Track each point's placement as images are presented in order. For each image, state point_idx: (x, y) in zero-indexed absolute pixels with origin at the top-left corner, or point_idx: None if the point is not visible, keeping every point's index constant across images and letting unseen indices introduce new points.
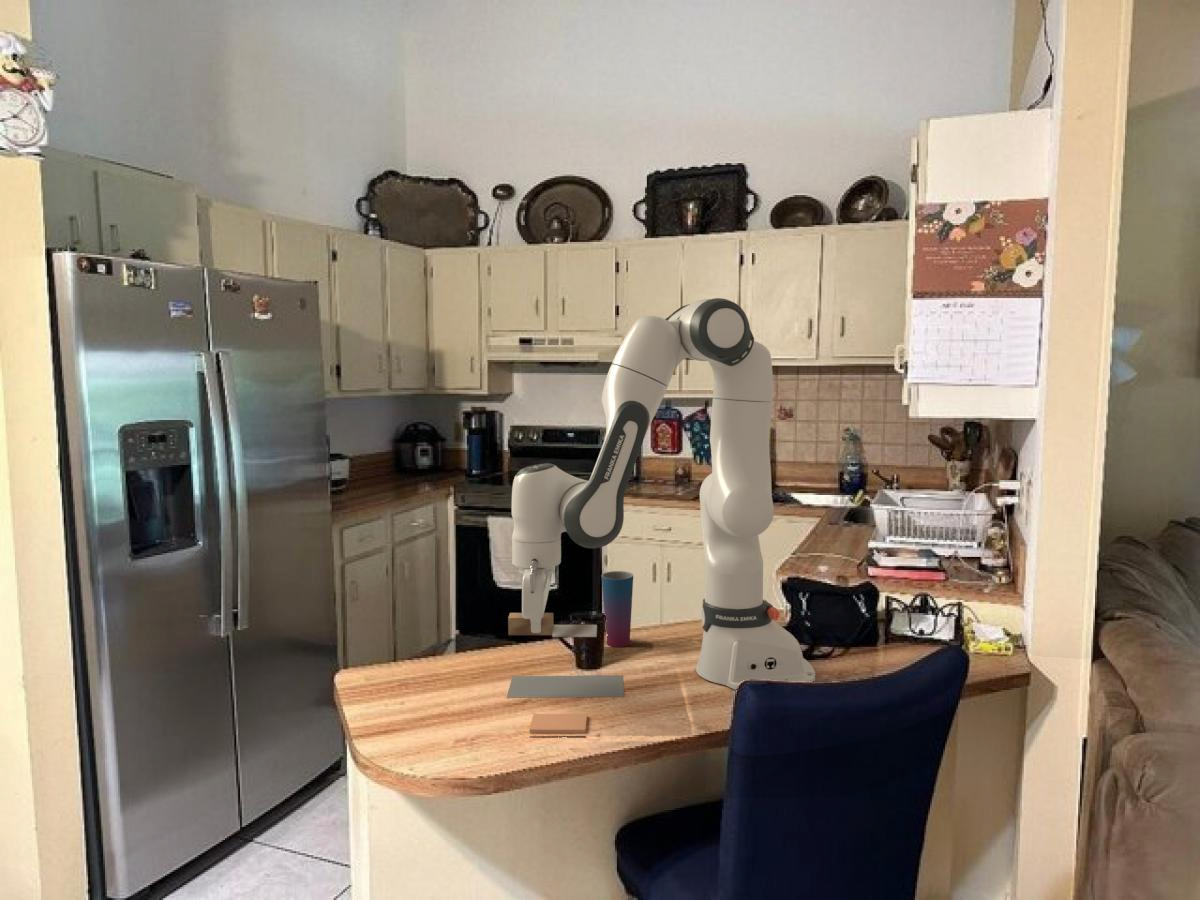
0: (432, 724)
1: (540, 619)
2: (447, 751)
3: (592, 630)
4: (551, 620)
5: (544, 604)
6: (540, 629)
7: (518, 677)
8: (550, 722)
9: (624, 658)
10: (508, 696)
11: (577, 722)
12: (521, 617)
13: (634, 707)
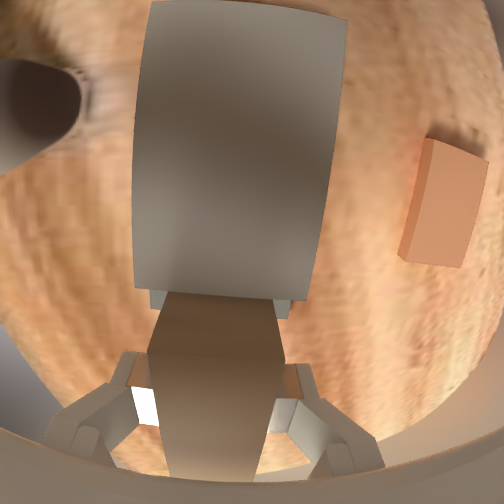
0: (347, 403)
1: (349, 421)
2: (435, 367)
3: (278, 31)
4: (279, 351)
5: (496, 479)
6: (310, 373)
7: (158, 295)
8: (450, 227)
9: (34, 21)
10: (280, 315)
11: (464, 170)
12: (247, 472)
13: (366, 11)
